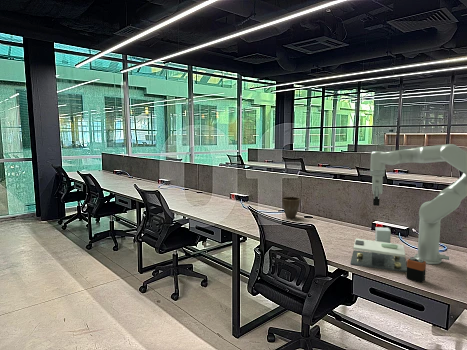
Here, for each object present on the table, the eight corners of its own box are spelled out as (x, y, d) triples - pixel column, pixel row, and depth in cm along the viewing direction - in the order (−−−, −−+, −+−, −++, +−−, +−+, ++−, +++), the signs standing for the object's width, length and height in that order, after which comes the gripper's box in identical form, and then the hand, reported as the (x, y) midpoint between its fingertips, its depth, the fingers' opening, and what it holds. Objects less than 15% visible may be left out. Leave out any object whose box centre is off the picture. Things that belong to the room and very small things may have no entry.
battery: (409, 275, 152) (410, 255, 151) (425, 280, 147) (426, 259, 146) (405, 278, 149) (406, 258, 148) (422, 283, 144) (423, 261, 143)
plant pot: (289, 214, 277) (289, 196, 275) (303, 217, 265) (303, 198, 264) (278, 217, 267) (278, 198, 266) (291, 220, 256) (292, 200, 254)
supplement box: (387, 248, 190) (388, 227, 188) (390, 252, 182) (391, 231, 181) (374, 247, 192) (375, 226, 190) (376, 251, 185) (377, 230, 183)
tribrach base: (404, 258, 173) (404, 248, 173) (407, 272, 155) (407, 261, 155) (353, 251, 184) (353, 242, 184) (350, 264, 166) (350, 254, 166)
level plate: (403, 249, 171) (403, 241, 171) (404, 259, 157) (405, 251, 156) (355, 242, 181) (355, 234, 181) (353, 251, 167) (353, 243, 166)
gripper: (384, 175, 172) (383, 208, 174) (384, 172, 185) (383, 203, 187) (369, 174, 175) (368, 207, 177) (370, 171, 188) (369, 202, 190)
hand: (376, 205), depth 182 cm, fingers closed
